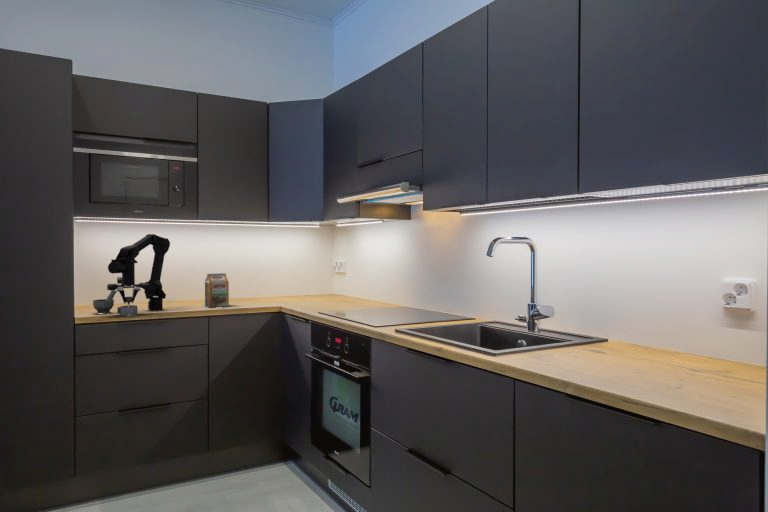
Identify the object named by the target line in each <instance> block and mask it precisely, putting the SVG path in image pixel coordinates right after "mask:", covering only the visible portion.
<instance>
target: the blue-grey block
mask: <svg viewBox="0 0 768 512" xmlns="http://www.w3.org/2000/svg"><path fill="white" fill-rule="evenodd" d="M116 309H117V310H116V311H117V314H118V315H120V316H119V317H133V316H138V314H139V312H138V305H135V304H134V305H133V304H131V305H130V307H128V304H127V305H121V306H117V308H116Z"/></svg>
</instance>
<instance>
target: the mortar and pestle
mask: <svg viewBox="0 0 768 512" xmlns="http://www.w3.org/2000/svg"><path fill="white" fill-rule="evenodd" d="M116 294H117V291H116V290H110V293H109V294H108V296H107V297H106V298H102V299H101V298H100V299H94V300H93V299H92V305H93V308H94V309H95V310H96V314H97V313H110V314H111V310H112V309H113V307H114V305H115V304H114V303H115V299H114V297H115V295H116Z"/></svg>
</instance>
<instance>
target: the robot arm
mask: <svg viewBox="0 0 768 512" xmlns="http://www.w3.org/2000/svg"><path fill="white" fill-rule="evenodd" d="M148 246H152V250H153V253H154V256H153V261H152V266H151V273H150V278H149V280H148V281H145V282H139V283H137V284H136V279H135V271H136V269H135V268H136V267H135V264H138V261H137V260H136V258H137V257H138V256H139V254H140V252H141V251H142V250H144V249H146V248H147V247H148ZM170 246H171V242H170V239H168V238H166V237H162V236H159V235H157V234H155V233H149V234H145V236H144V237H142V238H141V239H139V240H137V241H136V242H134V243H133V244H130V245H126V246H124V247H122V248H120V249H119V252H118V254H117V256H116V257H115V259H111V262H109V264H108V266H107V270H108V272H109V273H110V274H121V276H117V277H116V282H117V283H108V284H107V286H106V290H107V291H111V290H115V291H116V292H118V293H119V294H120V296H121V299H122V302H123V304H124V305H125V304H126V302H125V297H126V295H125V290H124V289H132V296H131V297H132V302H131V304H134V302H135V299H136V297H137V294H138V293H139V292H141V290H142V289H143V291H144V292H143V293H144V296H145V298H146V299H148V301H147V310H148V311H150V310H155V311H164V307H163V305H164V304H163V300H165V299H166V298H167V297H166V296H167V294H166V293H165V292H164V290H163V284H162V282H161V277H162V272H163V267H164V260H165V256H166V254H167V253H168V251H169V250H170ZM146 299H145V300H146Z"/></svg>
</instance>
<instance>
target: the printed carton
mask: <svg viewBox="0 0 768 512" xmlns="http://www.w3.org/2000/svg"><path fill="white" fill-rule="evenodd" d="M229 286H230V285H229V280H228V277H227V273H226V272H225V273H224V272H222V273H207V274H206V277H205V280H204V307H205V308H208V309H217V308H216V307H222V308H229V307H230V305H229V304H230V300H229V299H230V298H229V297H230V293H229V292H230V290H229Z"/></svg>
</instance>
